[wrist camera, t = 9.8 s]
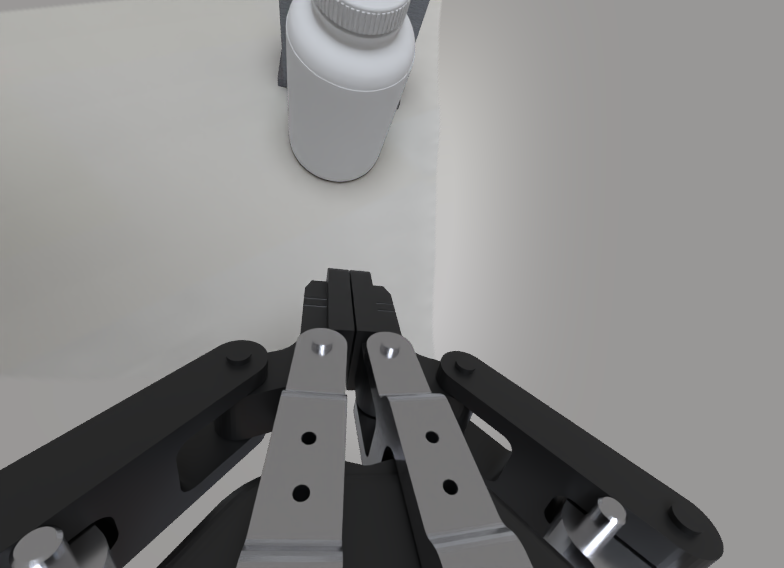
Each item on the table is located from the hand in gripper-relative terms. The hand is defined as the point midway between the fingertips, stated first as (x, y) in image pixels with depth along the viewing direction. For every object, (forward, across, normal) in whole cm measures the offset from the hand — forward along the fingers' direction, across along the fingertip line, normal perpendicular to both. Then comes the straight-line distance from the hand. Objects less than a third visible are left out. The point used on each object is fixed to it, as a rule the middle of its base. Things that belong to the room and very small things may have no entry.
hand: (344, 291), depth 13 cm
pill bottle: (+23, 0, -1) cm, 23 cm away
